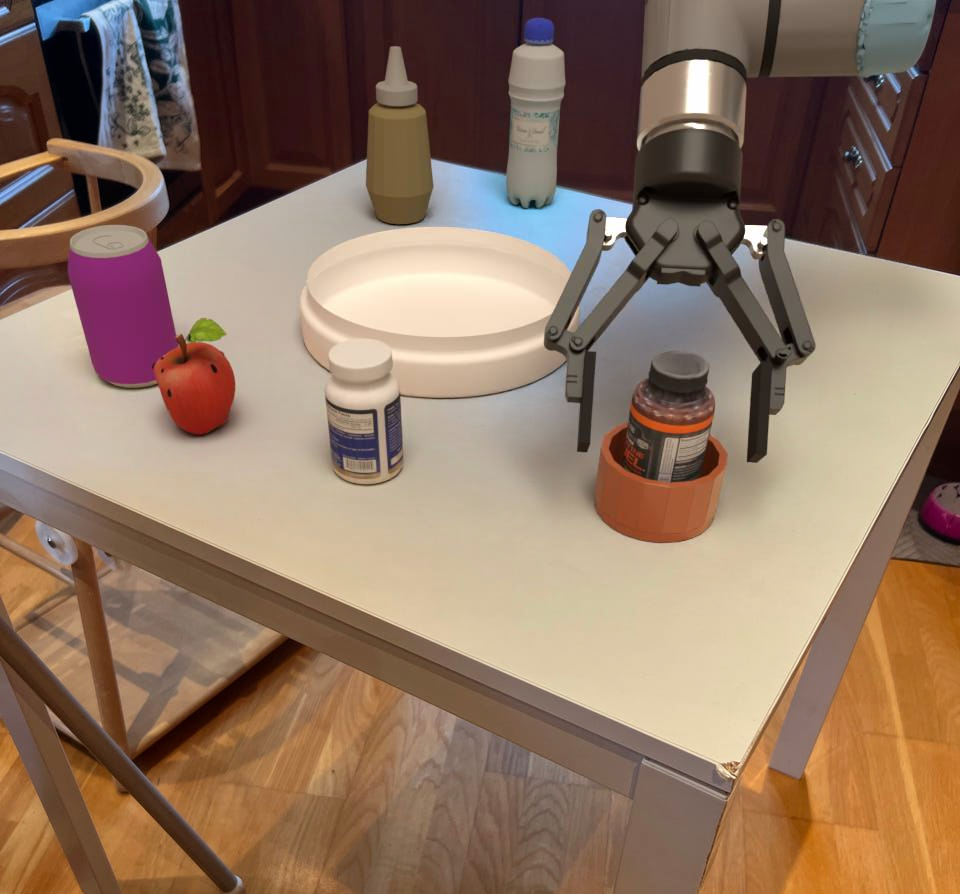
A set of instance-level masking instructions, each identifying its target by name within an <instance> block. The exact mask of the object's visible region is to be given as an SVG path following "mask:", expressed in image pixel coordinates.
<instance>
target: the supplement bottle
mask: <svg viewBox="0 0 960 894" xmlns="http://www.w3.org/2000/svg"><path fill="white" fill-rule="evenodd" d="M709 372H710V364H709V362H708V361H707V360H706V359H705V358H704V357H703V356H701V355H699V354H697V353H695V352H691V351H687V350H681V349H671V350H664V351H660V352H659V353H657V354H655V355H654V356H653V357H652V359H651V361H650V367H649V371H648V377H647V378H645V379H643V380H642V381H640V382H639V383H638V384H637V385H636V387H635V388H634V390H633V392H632V396H631V400H630V407H629V414H628V420H627V422H628V426H627V433H626V439H625V446H624V452H623V459H622V467H623V468H624V469H625V470H626V471H628V472H631V473H633V474H636V475H638V476H641V477H643V478H646V479H650V480H656V481H663V482H685V481H693V480H696V479H698V478H700V475H701V471H702V466H703V462H704V457H705V453H706V448H707V443H708V439H709V434H710V433H711V431H712V430H711V429H712V425H713V421H714V415H715V410H716V399H715V395H714V394H713V392H712V390H711V389H710V388H709V387H708V386H707V384H708V382H709V381H708V376H709ZM710 435H711V434H710Z"/></svg>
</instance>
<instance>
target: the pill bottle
mask: <svg viewBox="0 0 960 894" xmlns="http://www.w3.org/2000/svg"><path fill="white" fill-rule="evenodd" d="M328 357H329V368H330V373H331V375H330V376H329V378H327V381H326V382H325V386H324V400H325V407H326V417H327V427H328V436H329V437H328V438H329V444H330V445H329V446H330V455H331V463H332V468H333V470H334V472H335V473H336V475H337V476H339V477H340V478H341V479H343V480H345V481H347V482H350V483H352V484H358V485H374V484H379V483H383V482H386V481H388V480H390V479H392V478H394V477H395V476H396V475H398V473H400V471H401V470H402V468H403V464H404V443H403V442H404V441H403V422H402V400H401V395H400V386H399V382H398V380H397V378H396V377H395V376H394V375H393V374H392V373H391V372H390V371H391V370H392V367H393V361H392V352H391V349H390V347H389V346H388V345H387V344H385V343H383V342H381V341H378V340H374V339H364V338H361V339H351V340H346V341H343V342H341V343H338V344H337V345H335V346H333V347H332V348H331V350H330V351H329V354H328Z"/></svg>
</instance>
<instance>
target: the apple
mask: <svg viewBox="0 0 960 894" xmlns="http://www.w3.org/2000/svg"><path fill="white" fill-rule="evenodd" d="M225 336H227V332H226V331H225V330H224V329H223V328H222V327H221V326H220V324H219V323H217V322H216V321H215V320H213V319H212V318H207V317H201V318H199V319H198V320H196V321H195V323H194V324H193V325H192V327H191V329H190V331H189V332H188V334H187V336H186V337H184V335H183V334H182V333H180V334H177V335H176V337H175V339H176V341H177V343H178V346H179V347H177V348H175V349H173V350H171V351H170V352H168V353H166V354H165V355H163V356H162V357H161V358H160V359H159V360H158V361H157V362H156V363H154V364H153V365H152V369H153V370H154V374H155V378H156V381H157V384H156V385H157V386H158V389H159V391H160V395H161V398H162V400H163V404H164V405H165V408H166V409H167V412H168V414H169V415H170V417H171V419H172V420H173V421H174V423H175V424H176V425H177V426H178V427H179V428H181V429H182V430H184V431H186V432H187V433H190V434H191V435H192V434H193V435H197V436H198V435H199V436H201V435H206V434H208V433H210V432H211V431H213V430H215V429H217V428H219V427H221V426H223V425H224V424H225V423H226V422H227V420H228V418H229V416H230V412H231V409H232V406H233V403H234V400H235V395H236V377H235V373H234V370H233V367H232V365H231V363H230V361H229V360H228V358H227V357H226V355H225V353H224V352H223V351H222V350H220V349H219V348H218V347H216V346H214V345H212V344H210V343H207V342H216V341H219V340H221V339H222V337H225ZM187 342H188V343H187Z"/></svg>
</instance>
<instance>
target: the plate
mask: <svg viewBox="0 0 960 894" xmlns="http://www.w3.org/2000/svg"><path fill="white" fill-rule="evenodd" d="M571 273H572V272H571V271H570V269H569V268H568V267H567V265H566V264H565V263H564V262H563V261H562V260H561V259H560V258H559V257H557V256H556V255H554V254H553V252H552V253H551V252H550V251H549V250H547V249H545V248H543V247H541V246H539V245H537V244H535V243H533V242H529V241H527V240H524V239H521V238H518V237H515V236H511V235H507V234H505V233H503V234H502V233H499V232H495V231H489V230H482V229H476V228H469V227H467V228H466V227H456V226H417V227H415V226H414V227H404V228H394V229H389V230H383V231H378V232H373V233H369V234H364V235H361V236H357V237H354V238H351V239H348V240H346V241H344V242H341V243H339V244H337V245H335V246H333V247H331V248H329V249H328V250H326V251H324V252H323V253H322V254H321V255H319V256H318V257H317V258H316V259H315V260H314V261H313V262H312V264H311V266H309V268H308V271H307V274H306V284H305V285H304V287H303V288H302V291H301V292H300V296H299V314H300V322H301V324H300V325H301V332H302V339H303V341H304V346H305V347H306V349H307V351H308V352H309V354H310V355H311V356H312V357H313V360H315V361H316V362H317V363H318V364H320V365H321V366H322V367H324V368H325V369H327V370H328V371H330V368H329V357H328V354H329V351H330V350H331V348H332V347H333V346H335V345H337V344H338V343H341V342H343V341H346V340H351V339H361V338H364V339H374V340H378V341H381V342H383V343H385V344H387V345H388V346H389V347H390V349H391V352H392V361H393V367H392V370H391V371H390V372H391V373H392V374H393V375H394V376H395V377H396V378H397V380H398V382H399V386H400V396H406V397H416V398H435V399H450V398H451V399H454V398H470V397H479V396H486V395H487V396H488V395H492V394H498V393H502V392H503V393H504V392H506V391H511V390H514V389H517V388H521V387H524V386H526V385H529V384H532V383H534V382H537V381H539V380H540V379H542V378H545V377H547V376H548V375H549V374H551V373H553V372H555V371H556V370H557V369H558V368H560V367H561V366H562V365H563V364H564V363H565V362H567V360H566V357H565V356H564V355H563V354H561V353H560V352H557V351H555V350H554V351H550V350H547V349H546V348H545V346H544V333H545V328H546V325H547V323H548V321H549V319H550V317H551V315H552V313H553V311H554V309H555V307H556V305H557V303H558V300H559V298H560V296H561V294H562V292H563V290H564V288H565V286H566V284H567V282H568V280H569V277H570V275H571ZM580 304H581V303H580ZM580 304H579V306H578V308H577V310H576V312H575V314H574V316H573V319H572V321H571V323H570V325H569V327H568V329H567V331H570V332H572V333H575V332H576V330H577V329H578V328H579V322H580V315H581V314H580V313H581V305H580Z"/></svg>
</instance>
